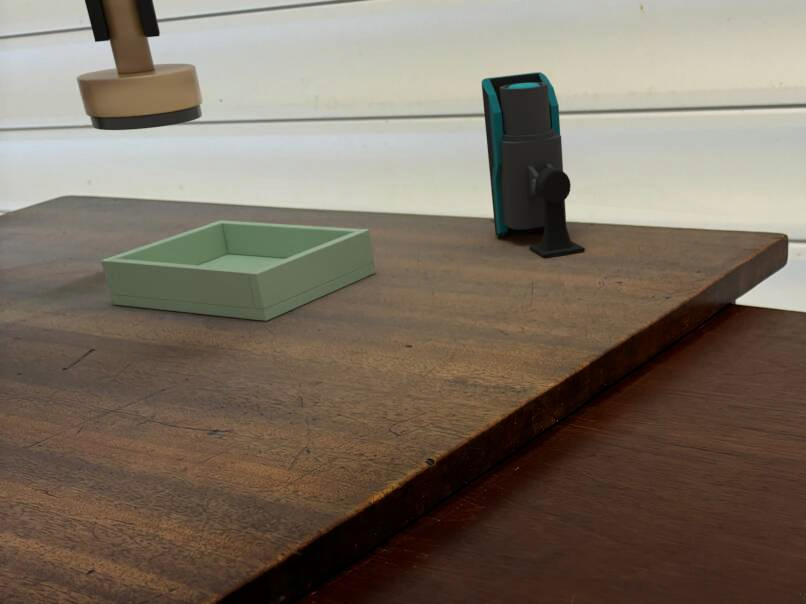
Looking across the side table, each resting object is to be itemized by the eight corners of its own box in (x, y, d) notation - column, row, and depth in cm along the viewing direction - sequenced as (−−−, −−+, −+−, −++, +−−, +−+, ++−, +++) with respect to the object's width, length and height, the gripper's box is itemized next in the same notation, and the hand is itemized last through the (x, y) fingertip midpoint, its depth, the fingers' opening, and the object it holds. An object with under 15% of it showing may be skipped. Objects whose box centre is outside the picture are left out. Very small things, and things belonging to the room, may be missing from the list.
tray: (112, 304, 91) (100, 260, 89) (229, 261, 101) (220, 220, 99) (266, 321, 85) (256, 273, 83) (375, 273, 94) (369, 229, 92)
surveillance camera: (519, 90, 88) (478, 79, 95) (532, 259, 95) (493, 236, 102) (588, 81, 89) (543, 71, 97) (596, 249, 96) (553, 227, 104)
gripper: (-202, -562, 52) (-15, 54, 65) (153, -563, 54) (260, 30, 68) (-162, -512, 57) (1, 44, 71) (156, -514, 60) (254, 21, 74)
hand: (127, 36), depth 70 cm, fingers closed on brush, 2 cm apart
